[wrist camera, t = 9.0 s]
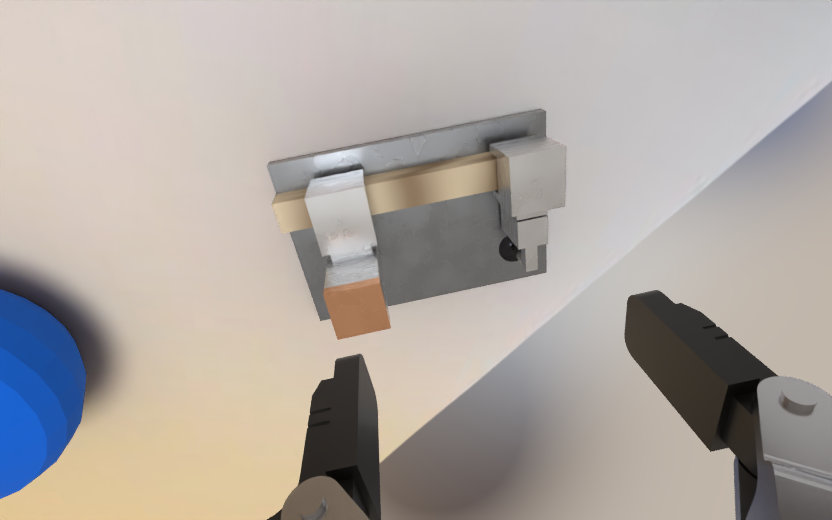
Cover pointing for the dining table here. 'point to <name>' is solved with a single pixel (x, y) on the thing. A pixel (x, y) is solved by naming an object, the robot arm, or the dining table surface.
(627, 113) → the dining table surface
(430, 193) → the divider rail
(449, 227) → the bolt plate
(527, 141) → the fixed leg
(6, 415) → the vase
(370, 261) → the slide leg
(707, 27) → the dining table surface
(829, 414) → the robot arm
